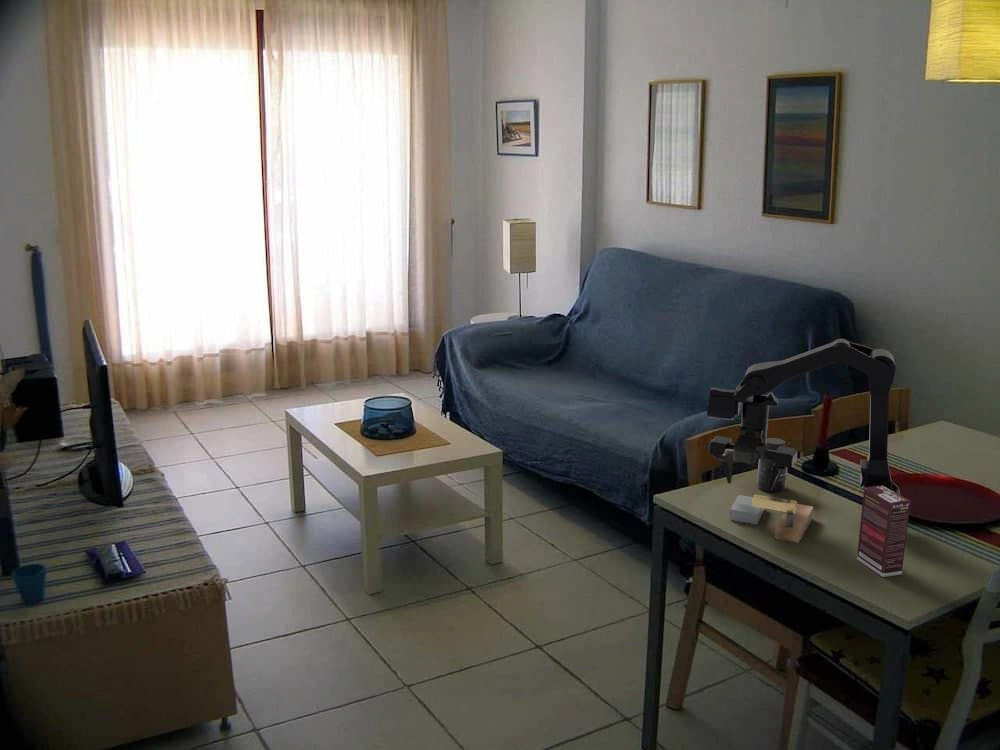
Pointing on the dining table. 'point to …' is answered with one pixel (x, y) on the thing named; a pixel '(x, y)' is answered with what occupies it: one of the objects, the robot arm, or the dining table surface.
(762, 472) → the supplement bottle
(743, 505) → the cover
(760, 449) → the robot arm
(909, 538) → the dining table surface
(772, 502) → the tan rectangular bar
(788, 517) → the key box
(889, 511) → the supplement box
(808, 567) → the dining table surface
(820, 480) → the dining table surface
